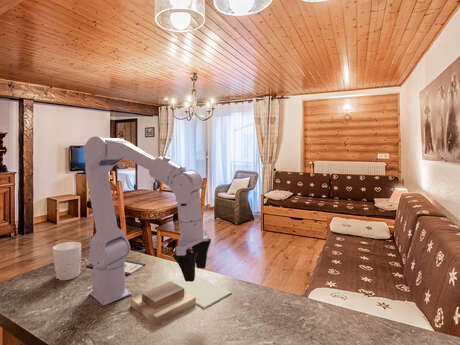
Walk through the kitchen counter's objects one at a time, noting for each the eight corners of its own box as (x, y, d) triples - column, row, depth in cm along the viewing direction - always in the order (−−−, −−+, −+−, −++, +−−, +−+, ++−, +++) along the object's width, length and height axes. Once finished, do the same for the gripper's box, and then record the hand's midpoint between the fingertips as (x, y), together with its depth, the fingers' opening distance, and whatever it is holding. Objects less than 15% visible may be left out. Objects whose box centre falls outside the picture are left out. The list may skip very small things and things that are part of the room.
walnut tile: (142, 300, 71) (141, 293, 71) (170, 288, 78) (170, 281, 78) (155, 309, 67) (154, 301, 67) (184, 295, 74) (184, 288, 74)
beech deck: (130, 305, 72) (130, 298, 72) (169, 289, 81) (168, 282, 81) (156, 325, 64) (156, 317, 64) (195, 304, 73) (195, 297, 73)
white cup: (75, 268, 95) (74, 240, 94) (86, 274, 90) (85, 244, 89) (49, 276, 88) (48, 246, 88) (60, 284, 84) (59, 251, 83)
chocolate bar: (106, 256, 104) (145, 264, 98) (106, 259, 104) (145, 266, 98) (86, 265, 96) (127, 274, 90) (86, 268, 96) (127, 277, 90)
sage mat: (163, 285, 83) (163, 284, 83) (190, 274, 91) (190, 273, 91) (204, 308, 71) (204, 307, 71) (231, 293, 79) (231, 292, 79)
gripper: (194, 227, 60) (200, 288, 60) (215, 213, 74) (219, 263, 74) (165, 227, 62) (171, 287, 62) (190, 214, 76) (195, 262, 76)
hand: (195, 274), depth 69 cm, fingers open, 7 cm apart
